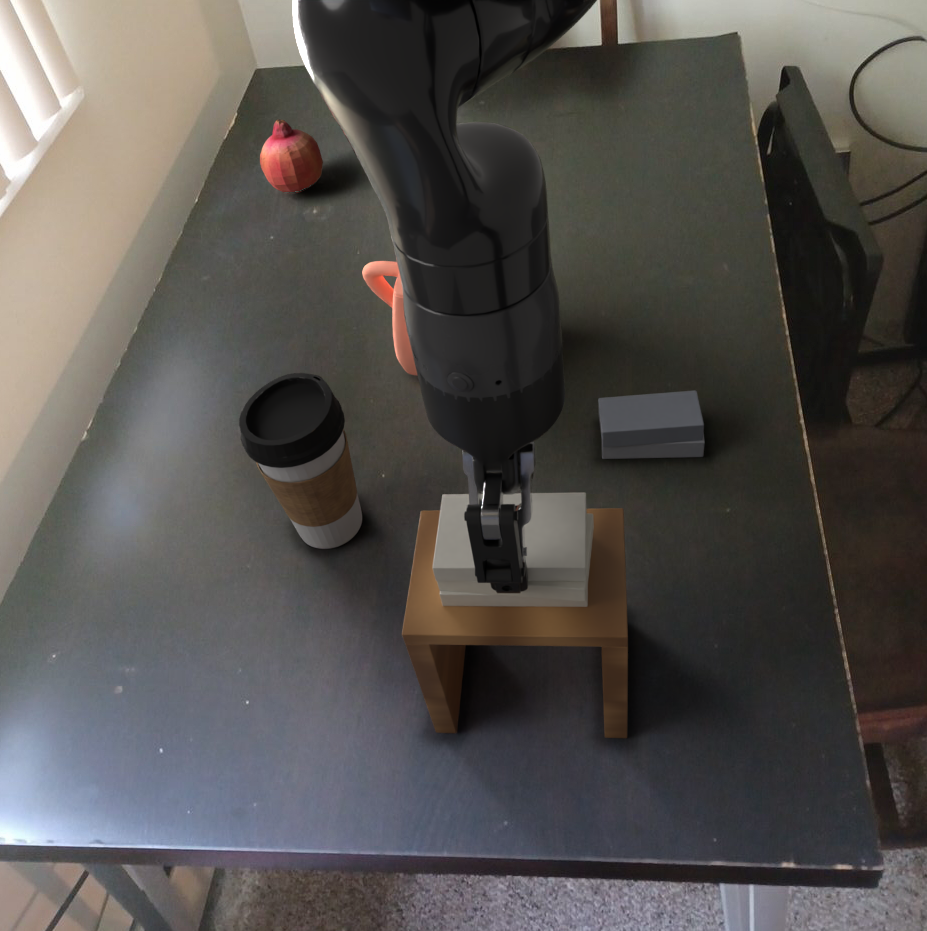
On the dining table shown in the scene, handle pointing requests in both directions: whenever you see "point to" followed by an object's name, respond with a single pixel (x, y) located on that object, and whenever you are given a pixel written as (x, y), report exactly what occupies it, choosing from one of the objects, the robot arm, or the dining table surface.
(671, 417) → the grey books
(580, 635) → the shelf
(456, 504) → the white book
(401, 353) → the teapot
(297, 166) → the fruit
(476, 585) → the white books
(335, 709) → the dining table surface
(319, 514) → the coffee cup
